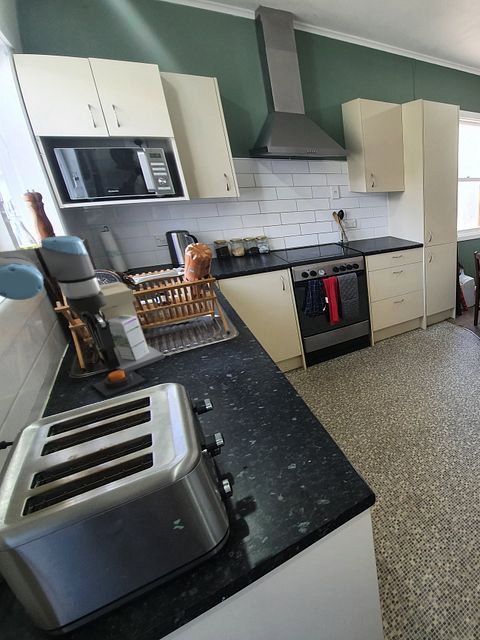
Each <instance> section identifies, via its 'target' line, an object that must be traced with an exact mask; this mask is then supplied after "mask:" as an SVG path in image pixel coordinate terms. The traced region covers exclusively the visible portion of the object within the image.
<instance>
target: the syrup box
mask: <svg viewBox="0 0 480 640" xmlns="http://www.w3.org/2000/svg"><path fill="white" fill-rule="evenodd" d="M137 317H138V316H137ZM137 317H136V316H130V315H119V316H116V317H114V318H112V319H110V320H108V322H109V326H110V330H111V334H112V337H113V340H114V343H115V345H116V348H117V350H118V353H119V355H120V357H121V359H125V360H138V359H140V358H142V357H143V356H145V355H147V354H148V353H149V350H148V348H147V345H148V344H147V345H146V343H147V341H146V342H145V340H146V338H145V339H144V337H145V336H144V337H143V334H144V333H143V334H142V331H143V330H142V331H141V328H142V327H141V328H140V325H141V324H140V325H139V323H140V322H139V323H138V320H139V319H138V320H137Z"/></svg>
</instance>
